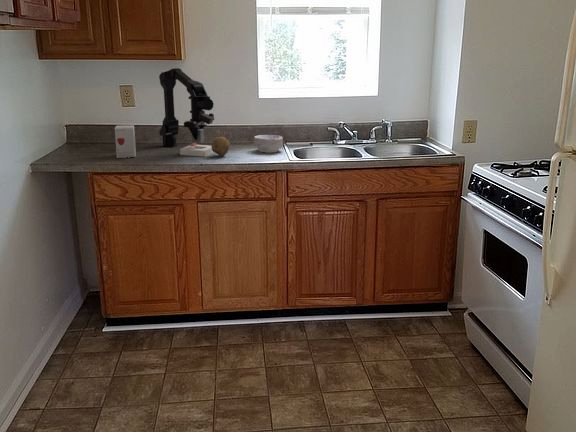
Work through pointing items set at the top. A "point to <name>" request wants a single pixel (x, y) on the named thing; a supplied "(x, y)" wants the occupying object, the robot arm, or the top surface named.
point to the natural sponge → (220, 146)
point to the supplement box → (125, 141)
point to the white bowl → (268, 143)
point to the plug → (199, 136)
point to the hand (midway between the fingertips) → (197, 139)
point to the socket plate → (196, 150)
